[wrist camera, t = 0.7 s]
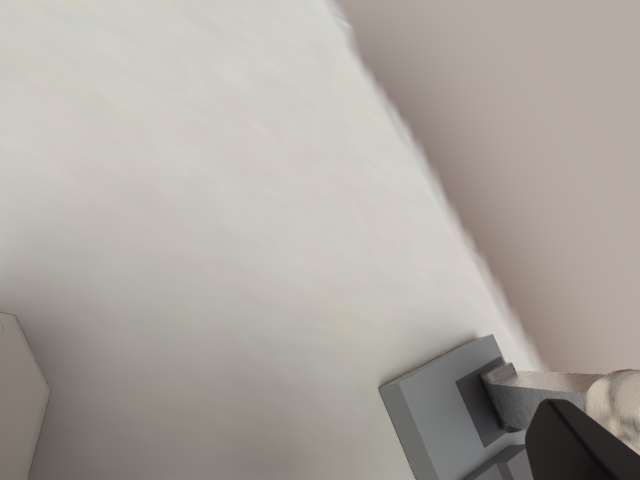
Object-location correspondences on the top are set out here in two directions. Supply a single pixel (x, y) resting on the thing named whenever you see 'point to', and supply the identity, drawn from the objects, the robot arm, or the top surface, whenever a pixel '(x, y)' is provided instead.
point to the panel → (455, 419)
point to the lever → (568, 398)
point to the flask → (19, 400)
